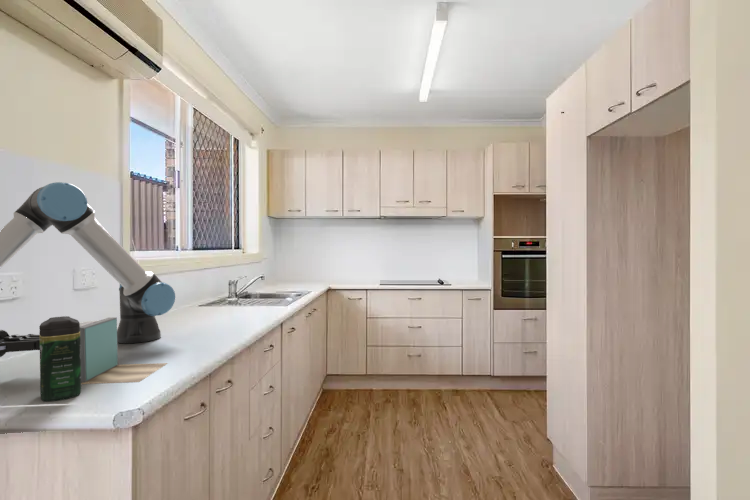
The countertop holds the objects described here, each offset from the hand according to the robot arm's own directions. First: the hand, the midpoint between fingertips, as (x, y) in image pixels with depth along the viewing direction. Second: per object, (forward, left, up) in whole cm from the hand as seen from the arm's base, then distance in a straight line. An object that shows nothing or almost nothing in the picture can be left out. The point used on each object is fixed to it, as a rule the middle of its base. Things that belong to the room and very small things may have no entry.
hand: (76, 341), depth 120 cm
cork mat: (-5, +10, -9) cm, 15 cm away
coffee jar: (+12, +13, -10) cm, 20 cm away
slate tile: (-3, +5, -9) cm, 11 cm away
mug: (-17, -19, -10) cm, 27 cm away
